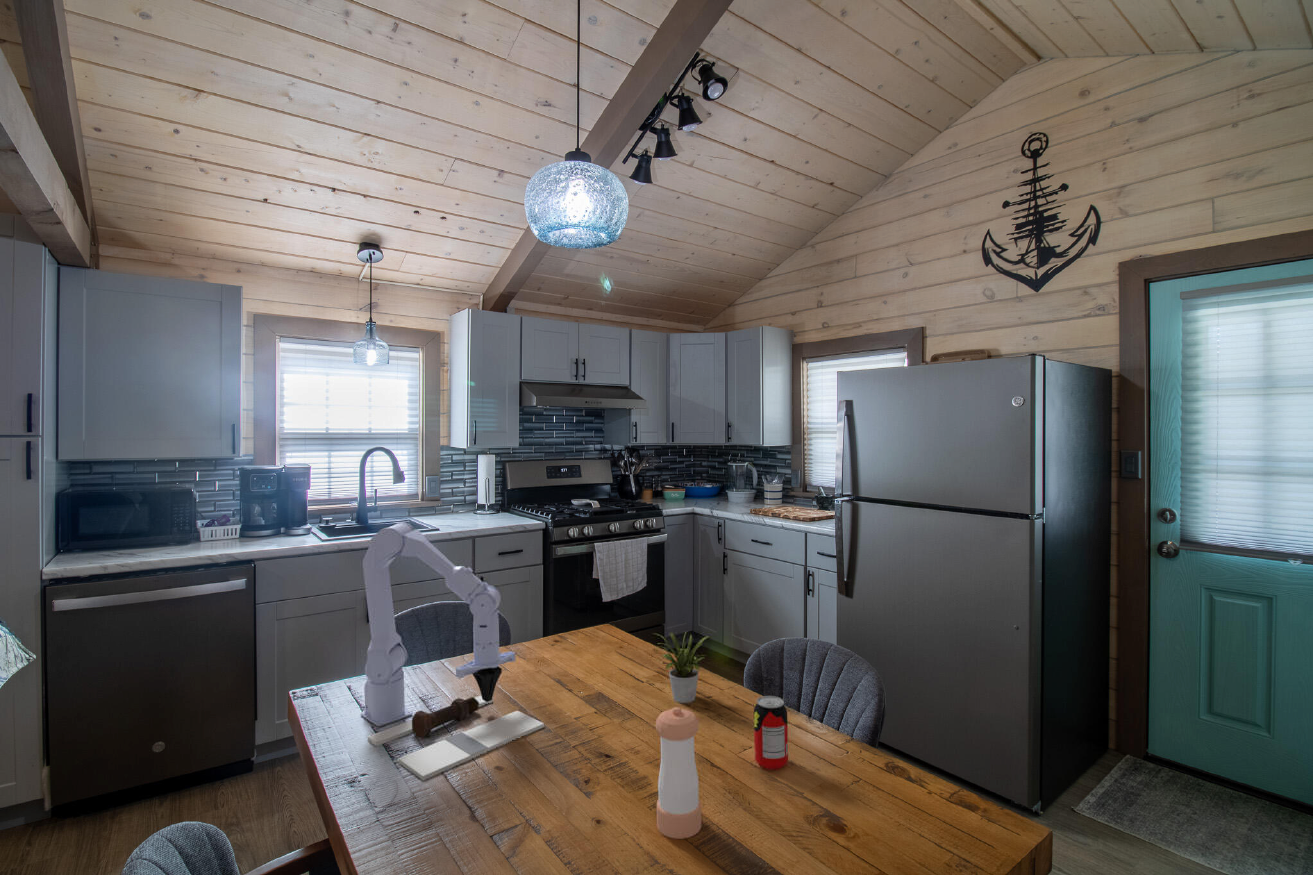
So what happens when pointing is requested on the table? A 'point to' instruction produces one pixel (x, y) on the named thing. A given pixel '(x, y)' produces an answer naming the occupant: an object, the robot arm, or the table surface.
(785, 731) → the beverage can
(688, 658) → the house plant
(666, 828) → the pepper shaker
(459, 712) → the bolt
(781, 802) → the table surface
